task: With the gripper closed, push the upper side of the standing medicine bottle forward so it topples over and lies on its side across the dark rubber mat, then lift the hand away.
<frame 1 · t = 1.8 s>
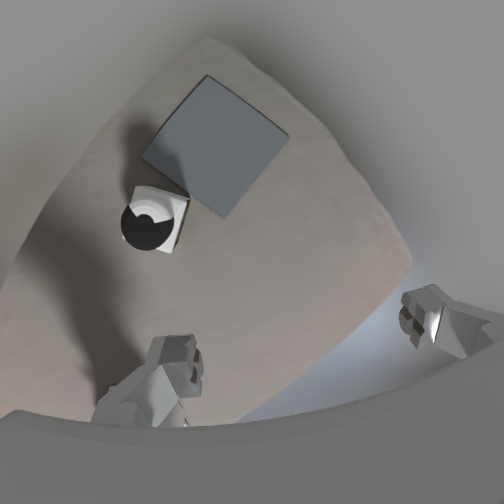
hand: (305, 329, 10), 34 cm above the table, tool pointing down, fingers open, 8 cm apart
dark rubber mat: (214, 144, 40), on the table
medicine bottle: (162, 214, 42), on the table
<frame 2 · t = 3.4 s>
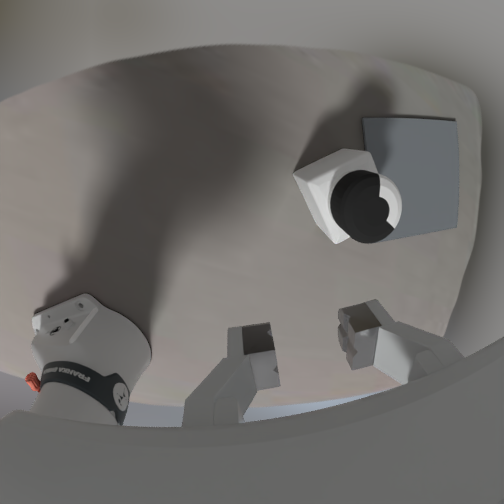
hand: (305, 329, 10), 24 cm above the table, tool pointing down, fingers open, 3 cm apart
dark rubber mat: (417, 177, 32), on the table
medicine bottle: (329, 186, 33), on the table
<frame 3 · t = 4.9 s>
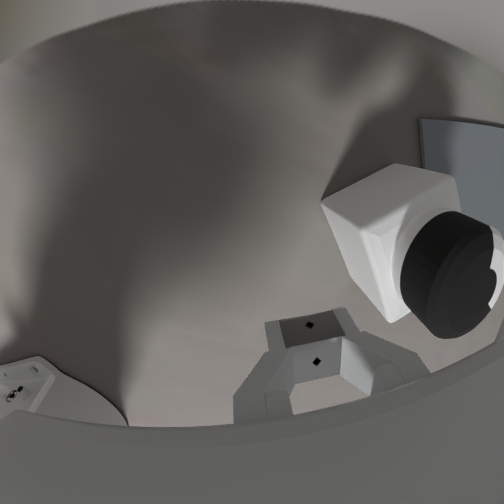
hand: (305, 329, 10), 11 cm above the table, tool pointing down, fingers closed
dark rubber mat: (477, 204, 21), on the table
medicine bottle: (372, 220, 21), on the table
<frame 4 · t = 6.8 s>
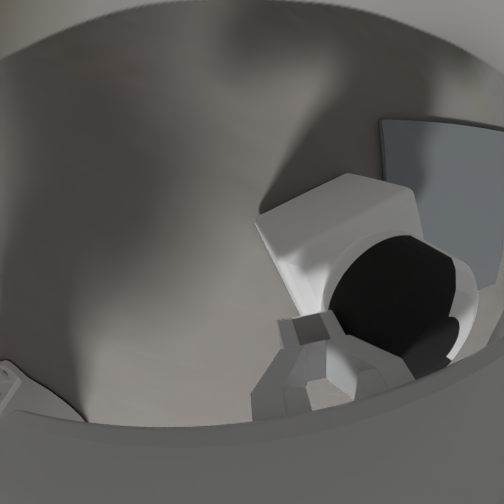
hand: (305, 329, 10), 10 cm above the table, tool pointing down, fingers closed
dark rubber mat: (457, 218, 20), on the table
medicine bottle: (320, 239, 19), on the table, touching gripper
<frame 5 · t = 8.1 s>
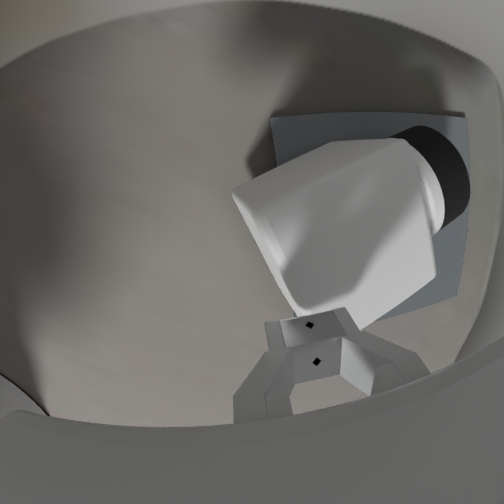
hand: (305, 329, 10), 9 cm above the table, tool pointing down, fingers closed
dark rubber mat: (392, 224, 19), on the table
medicine bottle: (266, 266, 14), point 5 cm above the table, touching dark rubber mat
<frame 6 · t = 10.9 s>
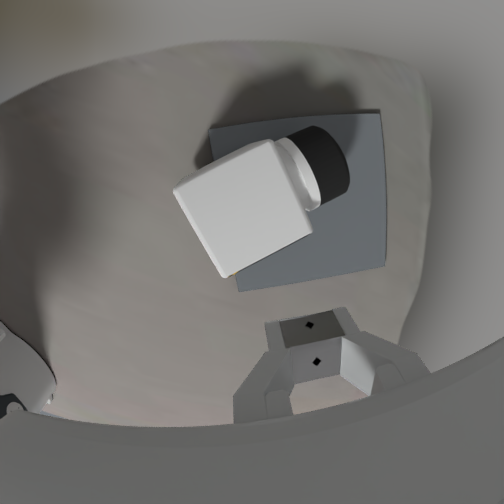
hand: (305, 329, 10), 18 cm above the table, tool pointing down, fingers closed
dark rubber mat: (308, 202, 26), on the table
medicine bottle: (196, 225, 21), point 5 cm above the table, touching dark rubber mat
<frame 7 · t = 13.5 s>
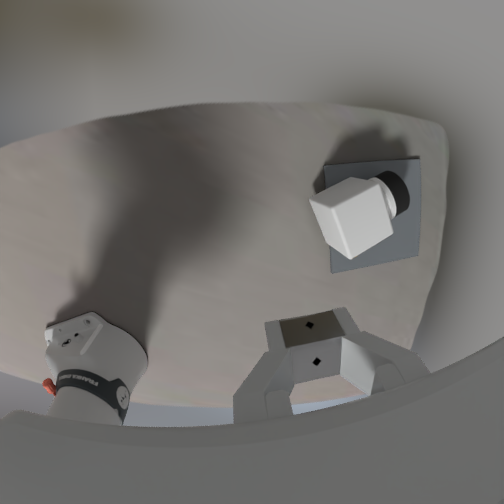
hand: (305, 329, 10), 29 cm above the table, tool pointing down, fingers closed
dark rubber mat: (377, 214, 39), on the table
medicine bottle: (326, 228, 34), point 5 cm above the table, touching dark rubber mat
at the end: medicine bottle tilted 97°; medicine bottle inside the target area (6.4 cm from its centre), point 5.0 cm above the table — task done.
